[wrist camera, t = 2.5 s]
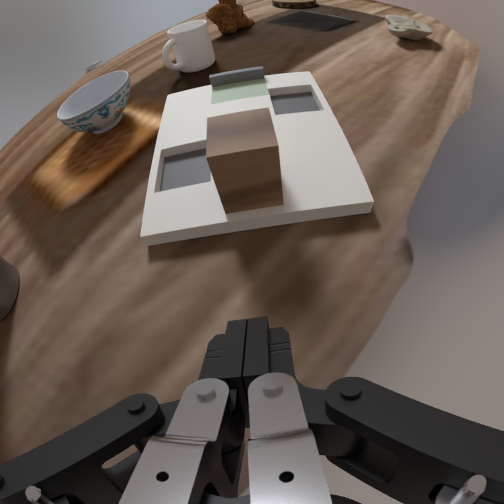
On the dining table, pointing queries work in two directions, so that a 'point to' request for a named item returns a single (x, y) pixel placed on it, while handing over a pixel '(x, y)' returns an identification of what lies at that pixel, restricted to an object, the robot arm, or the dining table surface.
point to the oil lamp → (407, 27)
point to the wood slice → (294, 3)
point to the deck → (290, 151)
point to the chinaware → (97, 104)
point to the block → (244, 160)
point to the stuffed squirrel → (229, 16)
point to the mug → (189, 47)
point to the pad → (239, 90)
